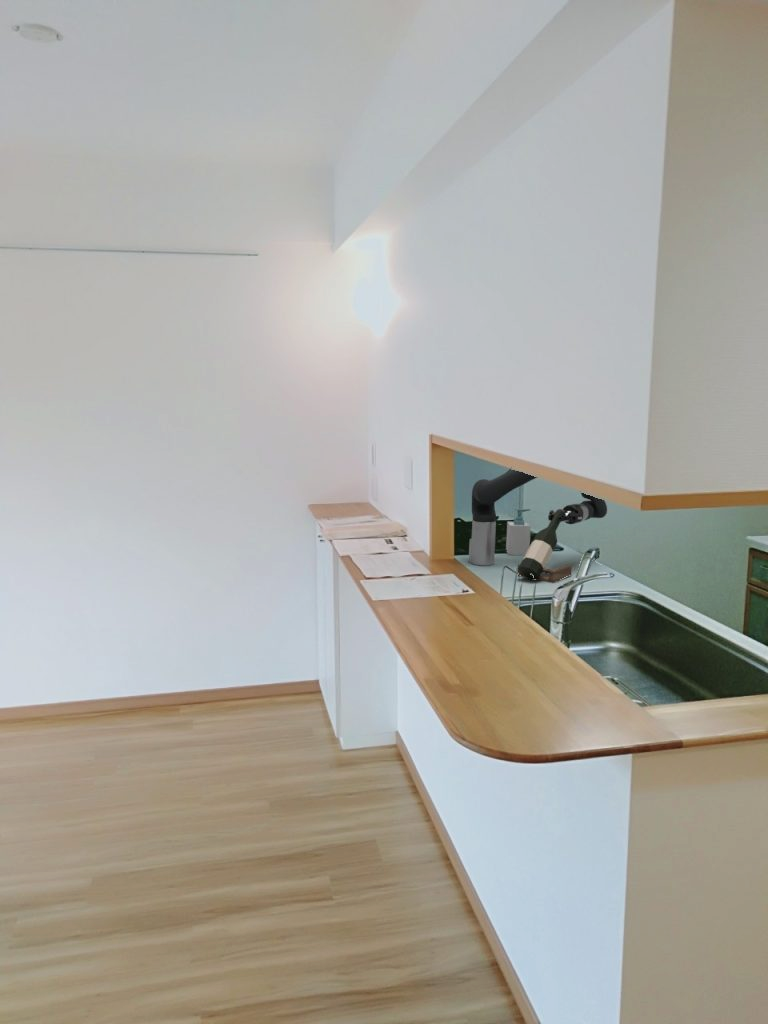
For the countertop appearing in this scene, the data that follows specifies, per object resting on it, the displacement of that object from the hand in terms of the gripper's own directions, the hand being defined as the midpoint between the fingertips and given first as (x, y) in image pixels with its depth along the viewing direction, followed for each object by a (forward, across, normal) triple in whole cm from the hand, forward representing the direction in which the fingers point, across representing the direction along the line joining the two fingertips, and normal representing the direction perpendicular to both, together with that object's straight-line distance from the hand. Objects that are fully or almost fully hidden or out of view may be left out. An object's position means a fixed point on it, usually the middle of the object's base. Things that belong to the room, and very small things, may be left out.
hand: (554, 518), depth 298 cm
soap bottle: (-21, -27, +21) cm, 40 cm away
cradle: (+5, 0, +21) cm, 22 cm away
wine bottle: (+17, 0, +19) cm, 25 cm away
